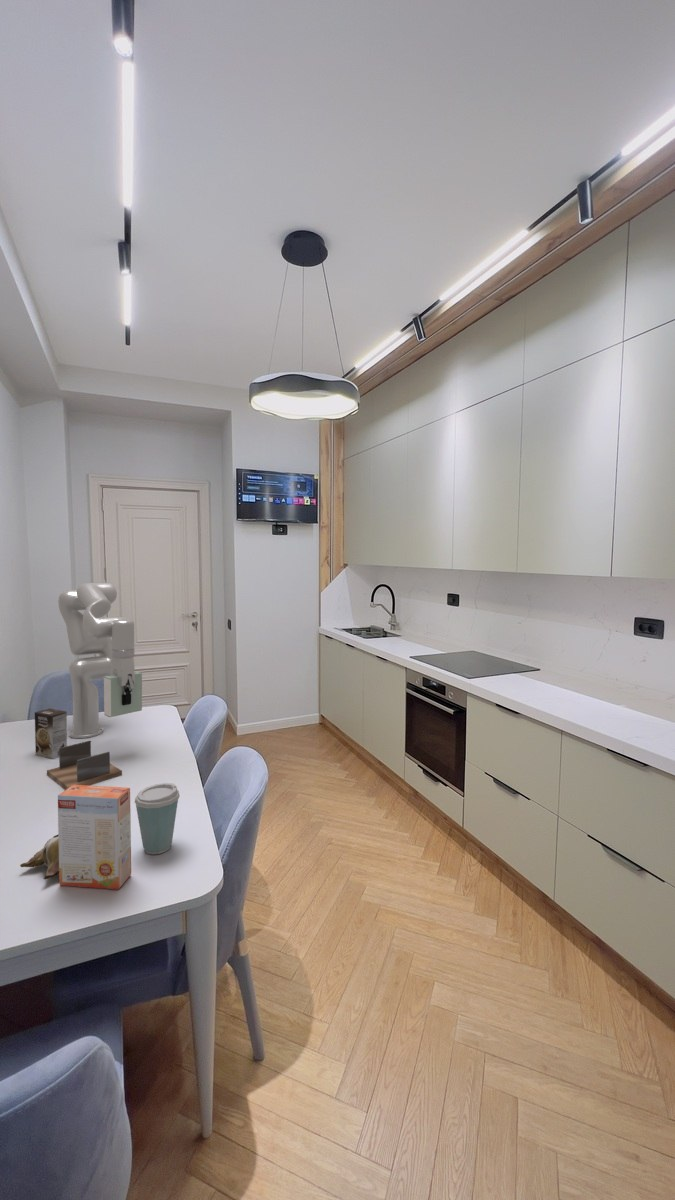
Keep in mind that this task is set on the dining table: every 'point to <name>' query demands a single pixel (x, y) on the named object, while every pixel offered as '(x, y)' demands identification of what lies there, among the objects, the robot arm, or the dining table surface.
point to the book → (115, 696)
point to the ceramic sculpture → (47, 858)
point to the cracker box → (94, 836)
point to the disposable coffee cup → (157, 816)
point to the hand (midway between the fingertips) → (123, 702)
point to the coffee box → (50, 732)
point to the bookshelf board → (82, 766)
